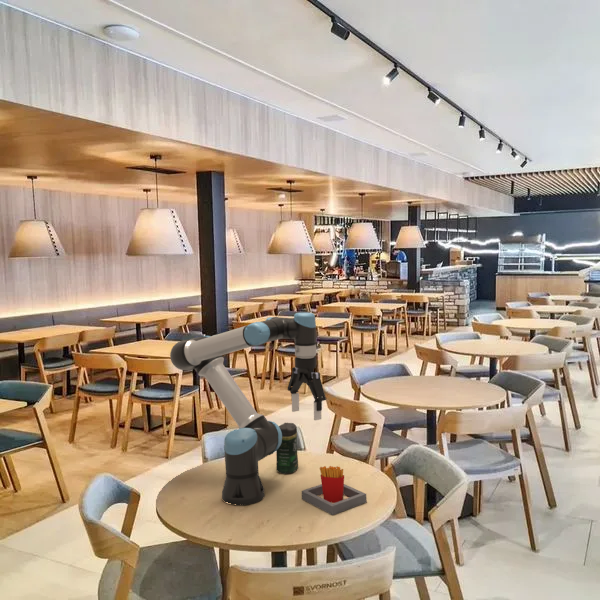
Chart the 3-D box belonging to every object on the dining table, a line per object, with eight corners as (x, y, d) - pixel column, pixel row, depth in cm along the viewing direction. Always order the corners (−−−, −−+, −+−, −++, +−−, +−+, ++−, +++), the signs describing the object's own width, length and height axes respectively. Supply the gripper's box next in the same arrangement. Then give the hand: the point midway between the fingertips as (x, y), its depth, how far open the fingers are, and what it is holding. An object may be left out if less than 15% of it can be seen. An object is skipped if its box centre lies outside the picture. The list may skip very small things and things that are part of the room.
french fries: (345, 499, 201) (344, 465, 200) (343, 503, 197) (341, 469, 197) (322, 496, 204) (321, 463, 203) (319, 501, 200) (318, 467, 199)
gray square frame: (301, 499, 203) (301, 490, 202) (334, 487, 211) (334, 479, 211) (332, 515, 189) (332, 506, 189) (366, 502, 198) (366, 493, 197)
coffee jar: (293, 475, 226) (291, 428, 224) (274, 473, 228) (272, 427, 227) (301, 466, 235) (299, 421, 233) (282, 465, 237) (280, 420, 236)
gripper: (277, 352, 213) (278, 409, 215) (317, 363, 192) (318, 425, 194) (294, 350, 217) (295, 406, 219) (335, 360, 197) (336, 421, 199)
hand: (306, 415), depth 207 cm, fingers open, 13 cm apart
